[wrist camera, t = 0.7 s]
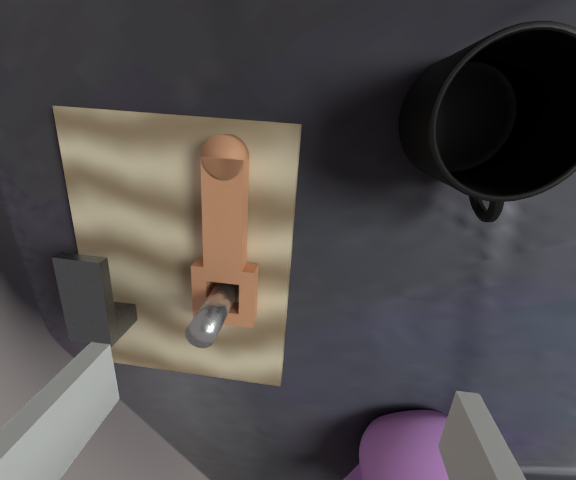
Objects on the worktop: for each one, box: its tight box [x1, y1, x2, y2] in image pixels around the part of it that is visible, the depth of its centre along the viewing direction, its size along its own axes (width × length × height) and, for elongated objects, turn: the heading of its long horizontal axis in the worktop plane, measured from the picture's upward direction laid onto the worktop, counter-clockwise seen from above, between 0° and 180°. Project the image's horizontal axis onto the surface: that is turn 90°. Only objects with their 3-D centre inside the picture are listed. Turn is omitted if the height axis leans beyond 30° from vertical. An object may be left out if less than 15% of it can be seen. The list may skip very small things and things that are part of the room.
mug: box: [399, 21, 576, 222], centre depth 23 cm, size 9×12×9 cm
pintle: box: [185, 283, 239, 348], centre depth 29 cm, size 2×2×8 cm
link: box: [191, 134, 259, 328], centre depth 30 cm, size 18×6×2 cm, turn 176°
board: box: [53, 106, 302, 386], centre depth 33 cm, size 28×22×1 cm
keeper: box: [52, 252, 138, 347], centre depth 32 cm, size 9×4×5 cm, turn 176°
